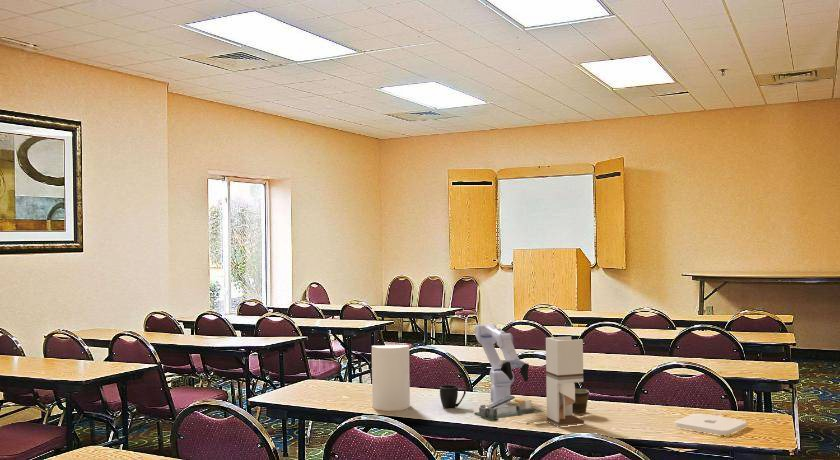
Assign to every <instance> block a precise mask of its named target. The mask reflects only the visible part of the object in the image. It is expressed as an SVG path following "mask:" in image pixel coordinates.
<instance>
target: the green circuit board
mask: <svg viewBox="0 0 840 460" xmlns="http://www.w3.org/2000/svg"><path fill="white" fill-rule="evenodd" d="M483 406H485V407H486V406H488V404H487V405H485V404H482V405H480V407H478V408H479V411H474V413H473V414H474V415H476V416H477V417H480V418H483V419H484V420H485V419H486V420H488V421H491V422H495V421H500V419H501V418H508V417H510V418H511V417H515V416H516V417H517V416H521V415H528V414H529V415H531V414H537V413H543V412H544V411H542V410H540V409H538V408H534V407H531V408H528V409H519V405H509V404H507V403H503V404H501V405H499V406H497V407H495V408H488V410H487V409H486V408H483Z"/></svg>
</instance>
